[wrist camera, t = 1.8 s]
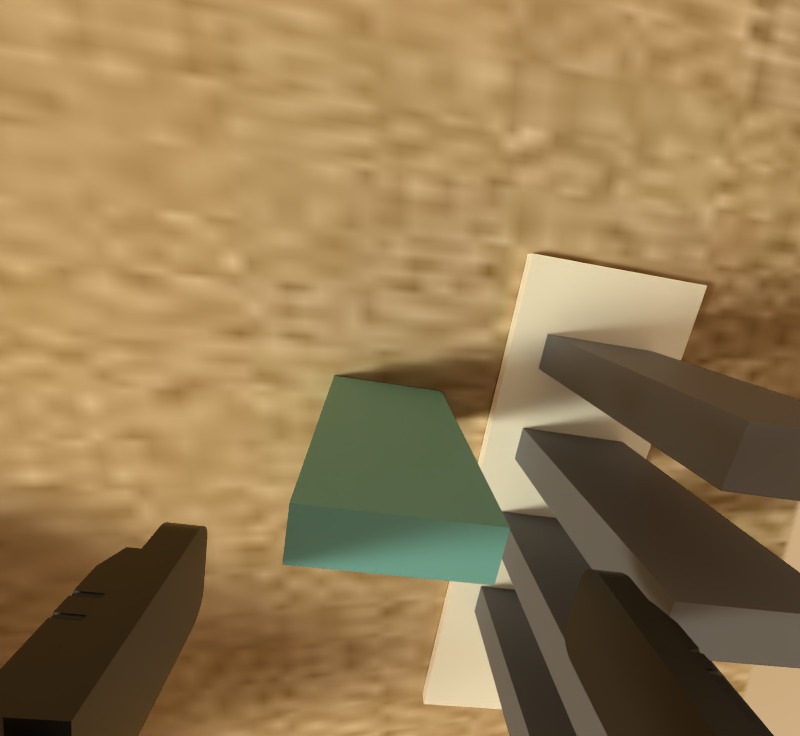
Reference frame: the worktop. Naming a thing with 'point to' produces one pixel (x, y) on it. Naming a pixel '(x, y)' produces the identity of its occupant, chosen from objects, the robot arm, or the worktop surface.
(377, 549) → the domino
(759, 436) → the domino
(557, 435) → the domino
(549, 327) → the strip
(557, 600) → the domino
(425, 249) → the worktop surface
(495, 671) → the domino
